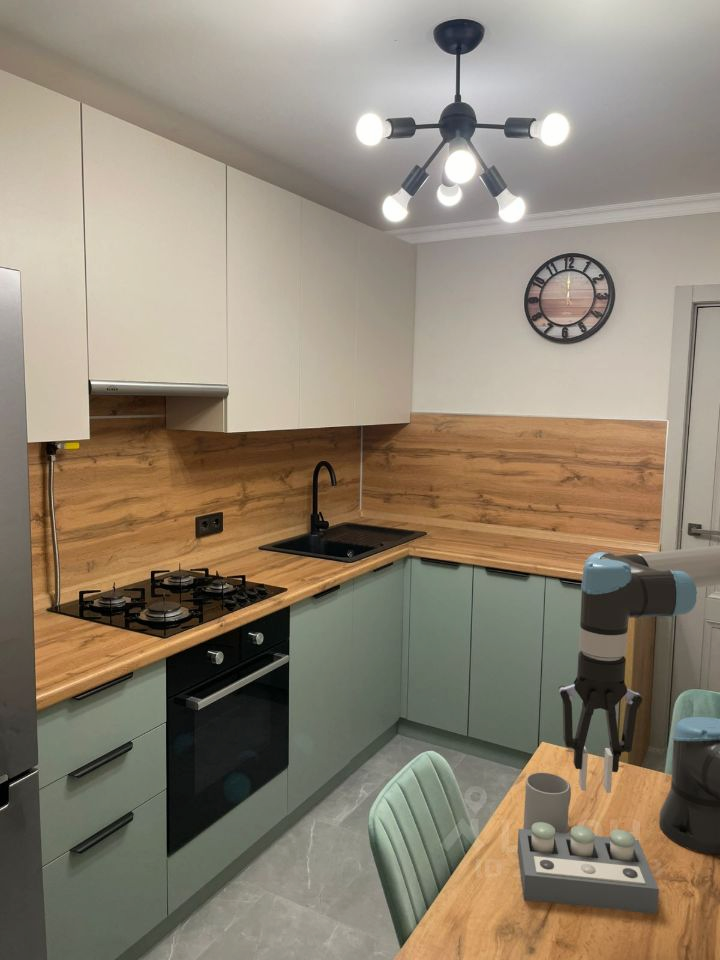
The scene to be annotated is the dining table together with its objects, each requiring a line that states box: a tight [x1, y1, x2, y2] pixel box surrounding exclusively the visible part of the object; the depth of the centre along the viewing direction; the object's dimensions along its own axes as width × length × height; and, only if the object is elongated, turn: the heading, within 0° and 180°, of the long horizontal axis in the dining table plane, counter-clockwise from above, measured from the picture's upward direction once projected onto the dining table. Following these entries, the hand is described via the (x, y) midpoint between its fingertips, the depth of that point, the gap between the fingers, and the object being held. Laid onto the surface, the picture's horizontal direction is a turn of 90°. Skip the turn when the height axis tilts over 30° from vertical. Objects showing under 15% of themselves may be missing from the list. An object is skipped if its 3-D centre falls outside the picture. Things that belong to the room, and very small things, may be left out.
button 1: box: [531, 822, 555, 854], centre depth 133 cm, size 4×4×4 cm
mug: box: [522, 772, 572, 833], centre depth 145 cm, size 12×8×11 cm
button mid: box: [570, 825, 596, 858], centre depth 132 cm, size 4×4×4 cm
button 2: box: [609, 829, 636, 862], centre depth 131 cm, size 4×4×4 cm
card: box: [534, 856, 645, 885], centre depth 126 cm, size 18×4×1 cm, turn 82°
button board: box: [517, 828, 660, 915], centre depth 130 cm, size 22×14×4 cm, turn 82°
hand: (594, 787), depth 123 cm, fingers open, 3 cm apart
